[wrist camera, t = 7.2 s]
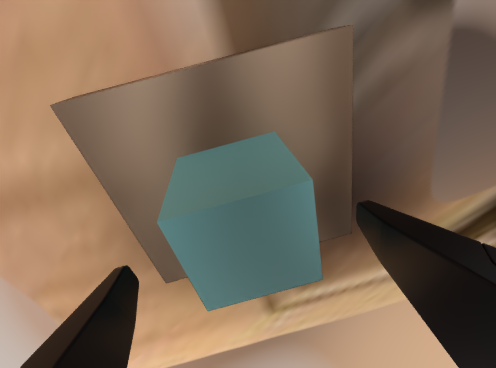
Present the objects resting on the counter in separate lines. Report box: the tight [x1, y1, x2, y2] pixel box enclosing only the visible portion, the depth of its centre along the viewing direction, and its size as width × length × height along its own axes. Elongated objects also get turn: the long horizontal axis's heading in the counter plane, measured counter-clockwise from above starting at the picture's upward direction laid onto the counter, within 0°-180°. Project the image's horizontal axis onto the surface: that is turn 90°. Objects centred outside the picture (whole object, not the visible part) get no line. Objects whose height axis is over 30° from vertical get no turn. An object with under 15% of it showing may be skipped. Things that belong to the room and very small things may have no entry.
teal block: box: [157, 131, 323, 311], centre depth 11 cm, size 5×5×5 cm
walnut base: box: [50, 25, 353, 283], centre depth 14 cm, size 13×12×2 cm
